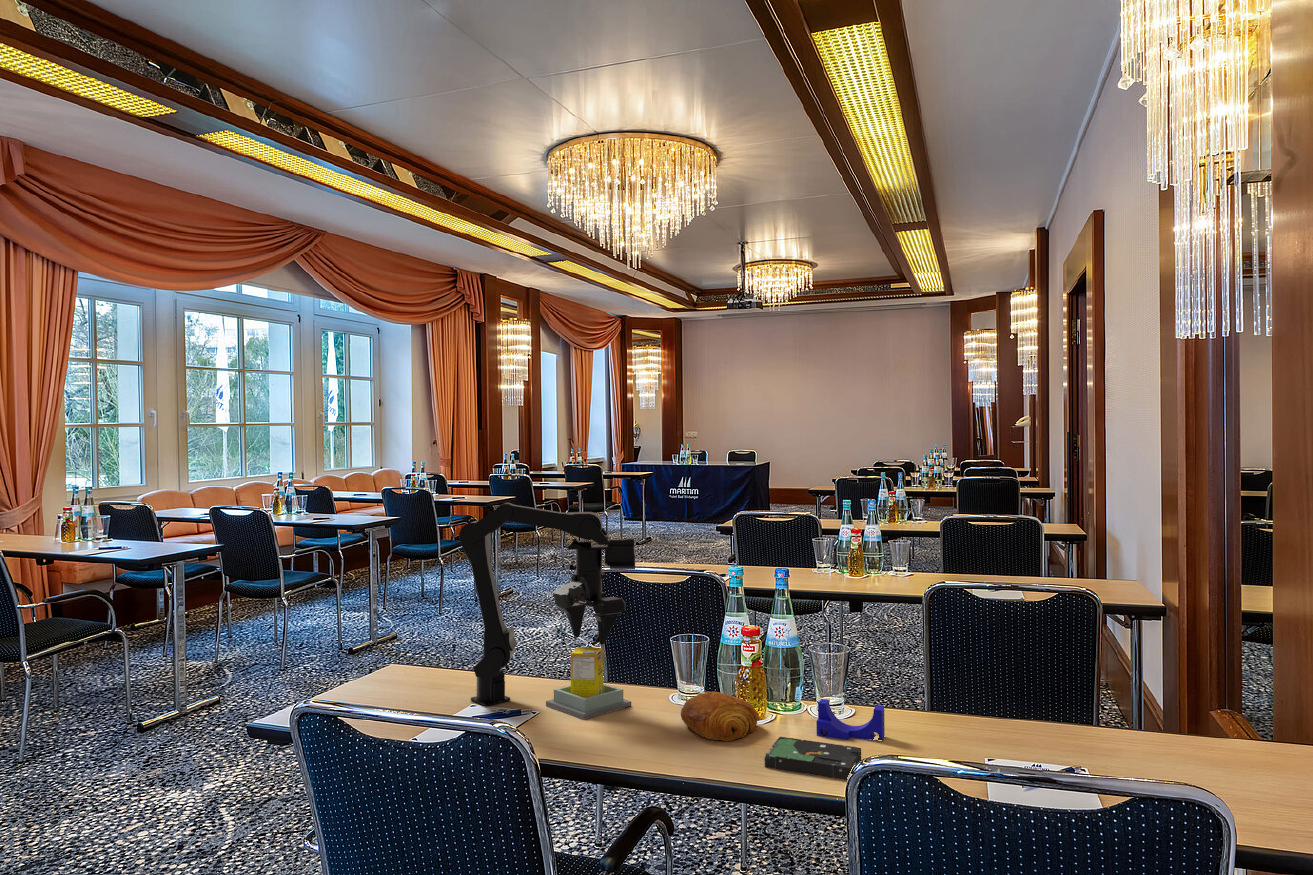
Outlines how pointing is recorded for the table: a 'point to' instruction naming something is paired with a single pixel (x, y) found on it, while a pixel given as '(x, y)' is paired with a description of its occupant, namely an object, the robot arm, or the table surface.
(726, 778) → the table surface
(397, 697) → the table surface
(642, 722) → the table surface
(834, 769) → the disk drive
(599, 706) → the socket holder
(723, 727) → the croissant
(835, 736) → the blue u-shaped cradle
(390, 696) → the table surface
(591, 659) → the supplement box
